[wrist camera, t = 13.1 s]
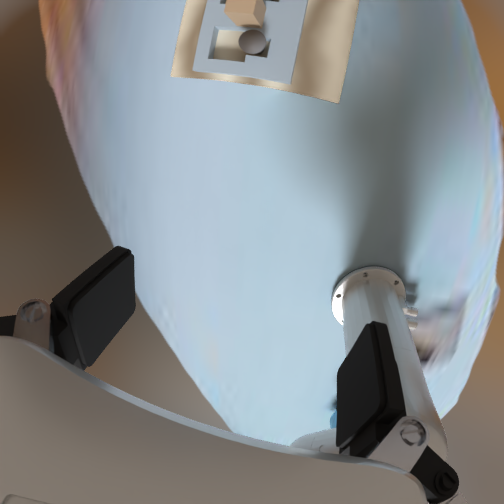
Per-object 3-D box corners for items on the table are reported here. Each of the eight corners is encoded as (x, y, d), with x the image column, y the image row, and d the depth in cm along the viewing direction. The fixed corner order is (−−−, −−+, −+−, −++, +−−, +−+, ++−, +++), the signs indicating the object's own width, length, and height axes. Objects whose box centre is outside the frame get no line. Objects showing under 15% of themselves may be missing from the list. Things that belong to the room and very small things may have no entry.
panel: (312, -20, 22) (313, -47, 16) (290, 84, 30) (287, 78, 24) (220, -28, 23) (201, -53, 16) (197, 71, 31) (171, 65, 24)
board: (359, -11, 23) (367, -27, 18) (337, 103, 32) (343, 102, 27) (198, -30, 24) (184, -45, 19) (174, 77, 33) (155, 74, 28)
